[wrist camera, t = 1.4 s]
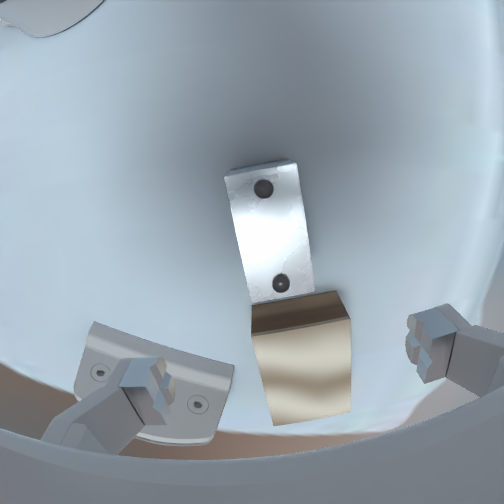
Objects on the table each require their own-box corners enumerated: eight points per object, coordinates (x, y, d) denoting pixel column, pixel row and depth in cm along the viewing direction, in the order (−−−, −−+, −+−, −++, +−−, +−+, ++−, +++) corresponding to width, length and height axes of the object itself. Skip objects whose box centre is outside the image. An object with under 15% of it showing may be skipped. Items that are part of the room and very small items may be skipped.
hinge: (237, 366, 31) (223, 453, 23) (228, 383, 34) (214, 461, 26) (91, 320, 30) (54, 397, 22) (96, 342, 33) (65, 412, 25)
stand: (251, 305, 29) (251, 336, 24) (336, 290, 28) (350, 318, 23) (271, 393, 33) (273, 426, 28) (340, 381, 32) (350, 412, 27)
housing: (231, 169, 25) (223, 177, 19) (286, 159, 24) (297, 164, 18) (252, 269, 28) (251, 305, 22) (303, 260, 27) (316, 294, 21)
